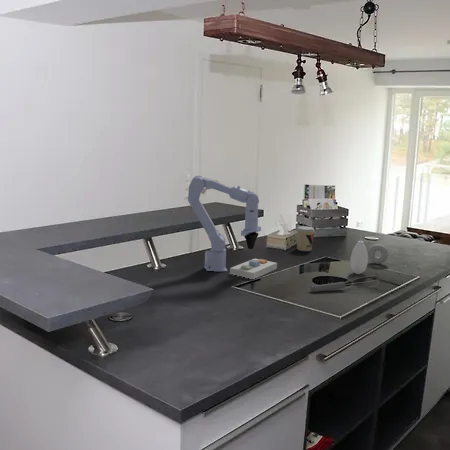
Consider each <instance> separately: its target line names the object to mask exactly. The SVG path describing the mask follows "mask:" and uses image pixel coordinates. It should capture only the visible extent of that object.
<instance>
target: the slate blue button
mask: <svg viewBox="0 0 450 450" xmlns="http://www.w3.org/2000/svg"><path fill="white" fill-rule="evenodd" d="M250 260H251V261H250ZM250 260H248V261H249V266H252V267H258V266H260V261H257V260H252V259H250Z"/></svg>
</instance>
